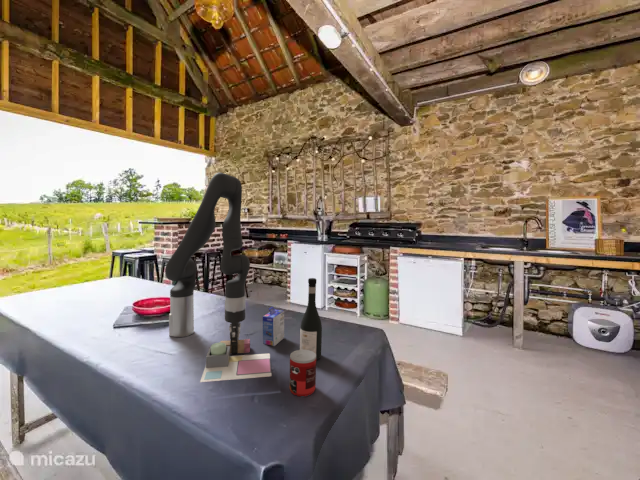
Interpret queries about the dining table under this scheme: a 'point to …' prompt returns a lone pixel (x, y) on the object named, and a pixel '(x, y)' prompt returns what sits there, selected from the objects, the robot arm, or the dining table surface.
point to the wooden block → (240, 345)
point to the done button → (218, 349)
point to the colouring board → (240, 368)
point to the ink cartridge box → (273, 327)
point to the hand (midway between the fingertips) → (235, 351)
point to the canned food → (302, 372)
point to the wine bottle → (311, 324)
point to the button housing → (218, 359)
